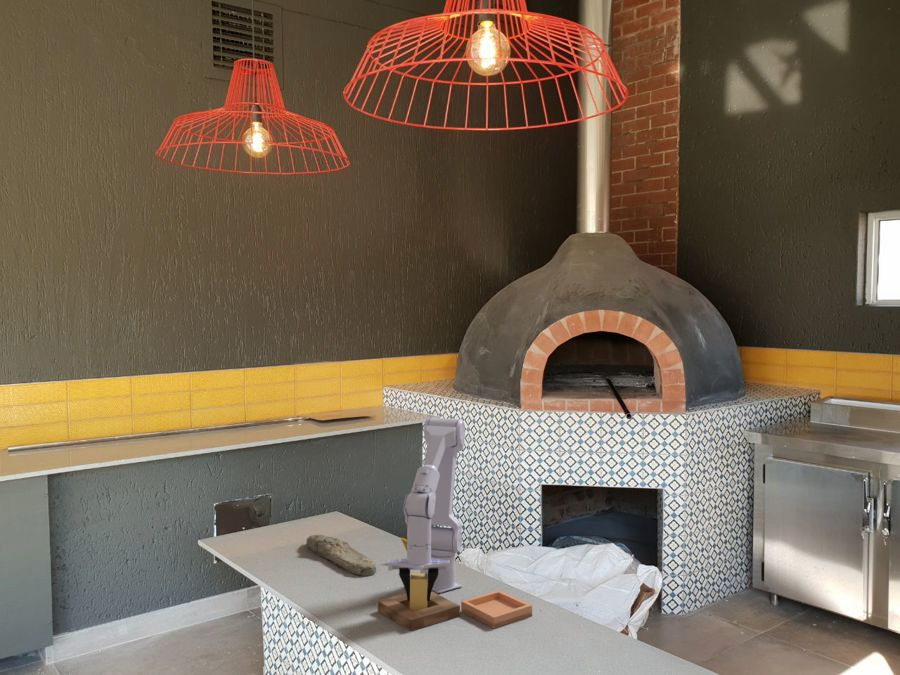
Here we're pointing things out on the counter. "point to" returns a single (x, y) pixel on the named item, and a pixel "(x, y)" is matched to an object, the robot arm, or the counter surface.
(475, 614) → the tray
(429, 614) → the socket block
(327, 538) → the long grey stone
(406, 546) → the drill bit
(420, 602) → the peg
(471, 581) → the counter surface
